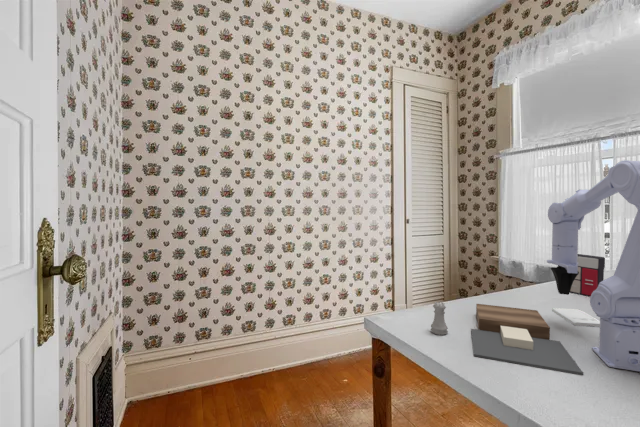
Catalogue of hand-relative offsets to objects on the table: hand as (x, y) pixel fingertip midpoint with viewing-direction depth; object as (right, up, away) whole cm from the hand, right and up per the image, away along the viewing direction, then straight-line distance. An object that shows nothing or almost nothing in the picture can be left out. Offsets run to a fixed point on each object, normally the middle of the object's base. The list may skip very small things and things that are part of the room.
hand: (563, 293), depth 89 cm
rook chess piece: (-37, -10, -3) cm, 38 cm away
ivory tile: (-20, -9, -10) cm, 24 cm away
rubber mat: (-21, -10, -14) cm, 27 cm away
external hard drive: (+9, -10, +6) cm, 15 cm away
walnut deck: (-15, -9, 0) cm, 18 cm away
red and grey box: (+32, -9, +32) cm, 46 cm away
